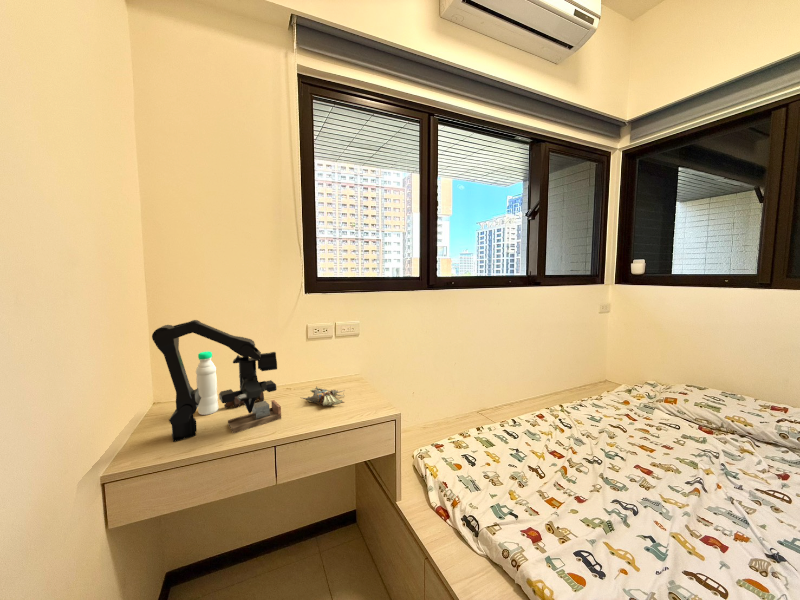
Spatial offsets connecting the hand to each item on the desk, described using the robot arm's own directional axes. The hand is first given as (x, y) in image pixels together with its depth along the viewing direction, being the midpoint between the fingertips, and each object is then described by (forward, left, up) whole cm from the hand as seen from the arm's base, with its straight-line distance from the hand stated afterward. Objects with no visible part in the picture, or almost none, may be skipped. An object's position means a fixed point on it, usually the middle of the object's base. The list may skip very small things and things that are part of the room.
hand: (249, 412), depth 116 cm
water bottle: (-10, +22, -4) cm, 25 cm away
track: (+2, 0, -4) cm, 4 cm away
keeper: (+4, 0, -3) cm, 5 cm away
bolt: (+3, +20, -5) cm, 21 cm away
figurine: (+31, -2, -5) cm, 31 cm away
